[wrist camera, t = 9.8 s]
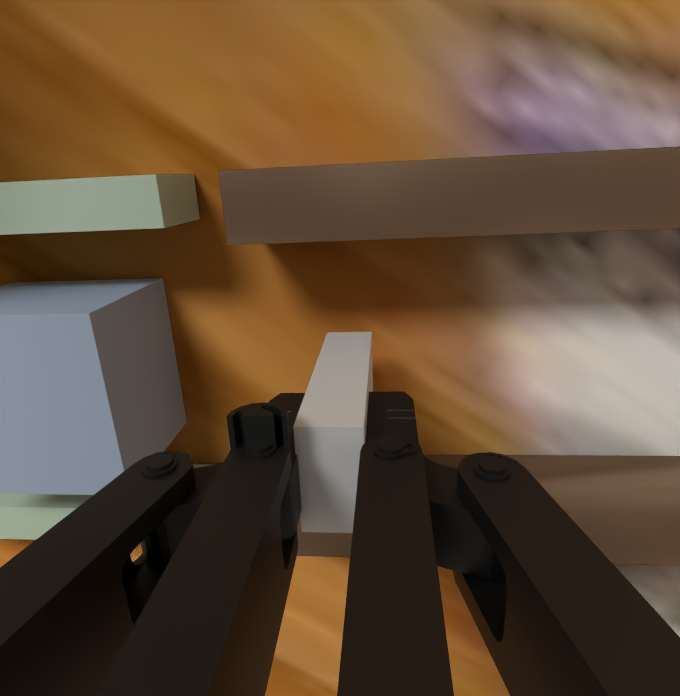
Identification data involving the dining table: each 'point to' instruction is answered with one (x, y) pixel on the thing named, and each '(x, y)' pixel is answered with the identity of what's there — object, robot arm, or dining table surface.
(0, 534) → the frame
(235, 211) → the channel
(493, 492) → the robot arm
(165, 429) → the block
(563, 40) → the dining table surface
